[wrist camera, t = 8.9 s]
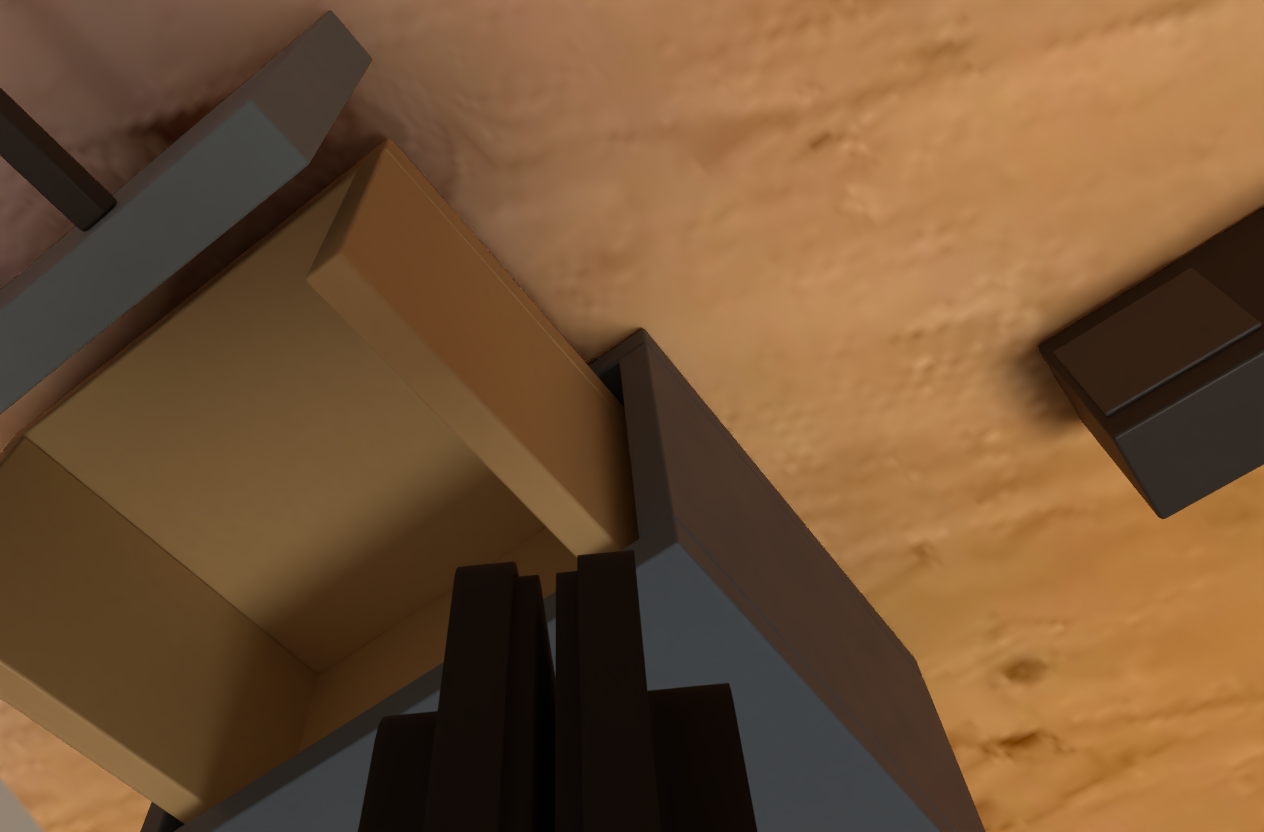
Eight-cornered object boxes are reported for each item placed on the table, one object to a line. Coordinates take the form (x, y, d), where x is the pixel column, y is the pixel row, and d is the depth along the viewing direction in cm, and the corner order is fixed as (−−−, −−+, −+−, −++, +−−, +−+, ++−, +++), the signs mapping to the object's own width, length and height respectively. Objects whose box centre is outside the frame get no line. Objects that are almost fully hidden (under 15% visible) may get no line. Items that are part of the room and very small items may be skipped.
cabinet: (221, 616, 30) (115, 892, 23) (643, 326, 27) (677, 541, 19) (536, 868, 36) (532, 1152, 29) (916, 659, 33) (1022, 922, 25)
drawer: (-388, 133, 22) (-723, 266, 16) (51, -323, 19) (-173, -361, 13) (306, 688, 31) (248, 907, 25) (693, 438, 27) (731, 622, 22)
